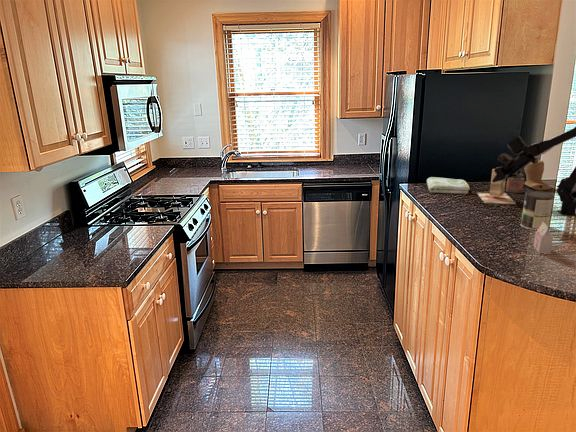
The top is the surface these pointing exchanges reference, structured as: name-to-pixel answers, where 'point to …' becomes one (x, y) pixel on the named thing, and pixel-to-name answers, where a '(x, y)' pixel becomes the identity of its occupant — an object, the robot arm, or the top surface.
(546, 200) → the coffee can
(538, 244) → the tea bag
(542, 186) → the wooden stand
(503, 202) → the card
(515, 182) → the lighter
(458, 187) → the towel
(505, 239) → the top surface
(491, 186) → the pepper mill
